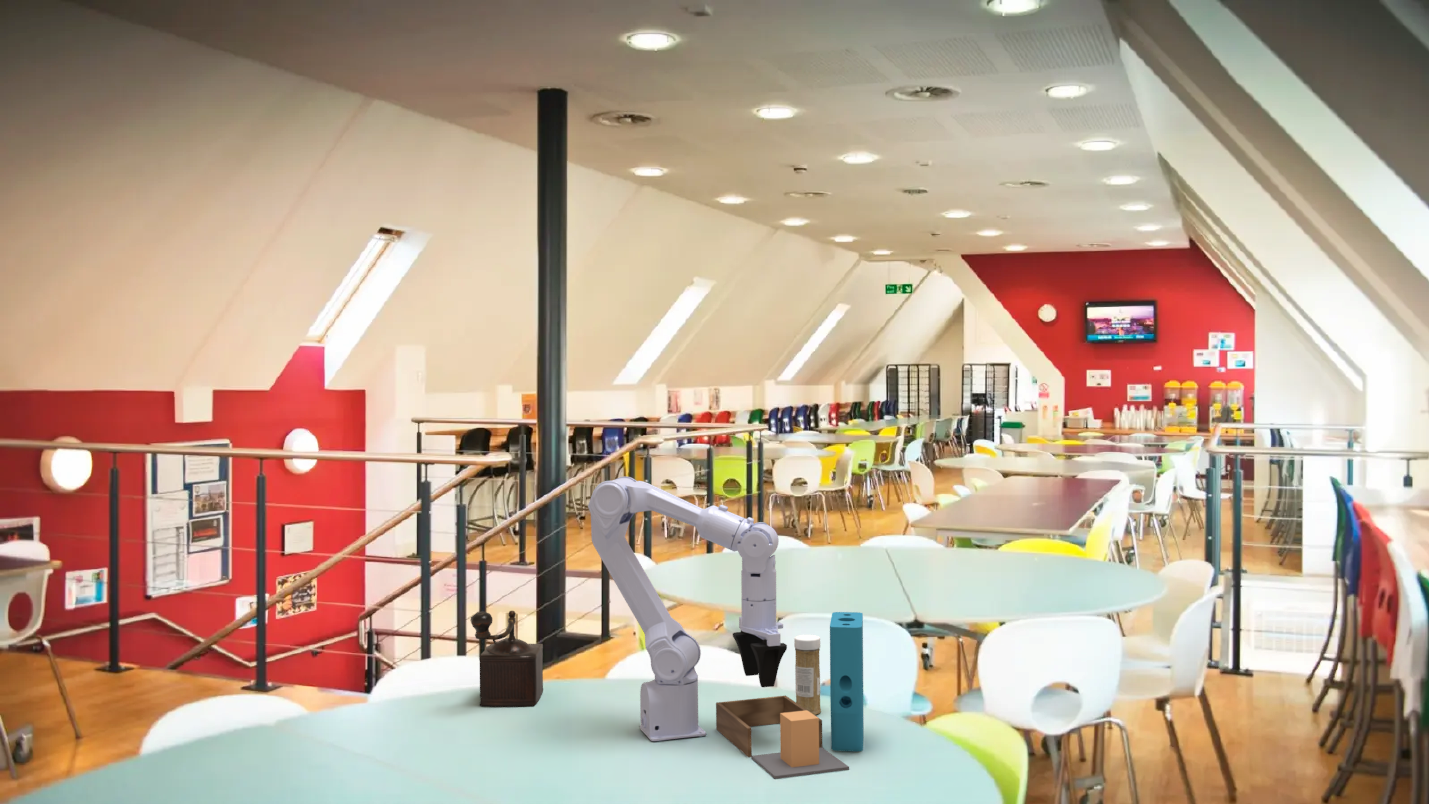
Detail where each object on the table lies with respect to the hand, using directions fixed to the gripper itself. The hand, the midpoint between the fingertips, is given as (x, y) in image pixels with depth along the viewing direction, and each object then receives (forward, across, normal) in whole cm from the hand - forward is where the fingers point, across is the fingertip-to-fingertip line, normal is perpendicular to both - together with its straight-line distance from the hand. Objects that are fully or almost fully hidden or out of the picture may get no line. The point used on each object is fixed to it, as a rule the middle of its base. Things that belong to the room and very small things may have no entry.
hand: (759, 680), depth 192 cm
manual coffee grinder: (+10, +35, +36) cm, 51 cm away
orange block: (+9, -14, -1) cm, 17 cm away
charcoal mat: (+9, -14, -1) cm, 17 cm away
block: (+10, -8, -12) cm, 17 cm away
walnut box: (+9, -1, -1) cm, 9 cm away
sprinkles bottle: (+10, +11, -13) cm, 19 cm away
